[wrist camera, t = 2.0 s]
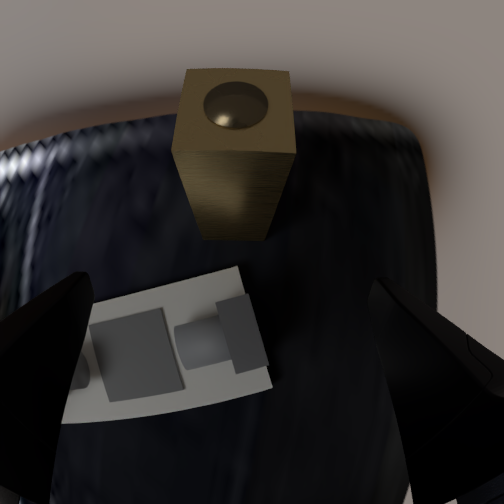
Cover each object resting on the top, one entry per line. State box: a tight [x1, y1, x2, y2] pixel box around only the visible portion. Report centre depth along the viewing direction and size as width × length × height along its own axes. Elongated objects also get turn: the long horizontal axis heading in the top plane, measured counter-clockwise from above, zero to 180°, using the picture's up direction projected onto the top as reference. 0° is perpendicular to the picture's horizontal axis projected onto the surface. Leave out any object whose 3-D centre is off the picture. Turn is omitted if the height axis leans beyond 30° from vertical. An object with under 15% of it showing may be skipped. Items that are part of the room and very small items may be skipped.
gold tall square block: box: [171, 68, 296, 241], centre depth 17 cm, size 5×5×13 cm
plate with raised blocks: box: [62, 266, 273, 424], centre depth 18 cm, size 18×9×4 cm, turn 106°
